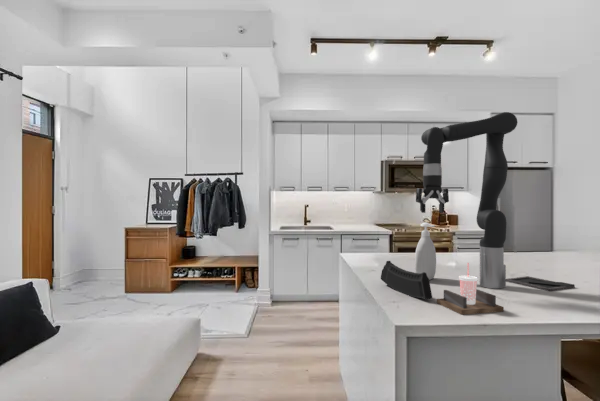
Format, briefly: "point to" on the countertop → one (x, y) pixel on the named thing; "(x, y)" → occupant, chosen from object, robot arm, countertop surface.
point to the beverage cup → (468, 287)
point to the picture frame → (540, 283)
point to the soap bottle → (425, 254)
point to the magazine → (406, 281)
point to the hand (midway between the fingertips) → (432, 212)
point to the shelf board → (459, 305)
